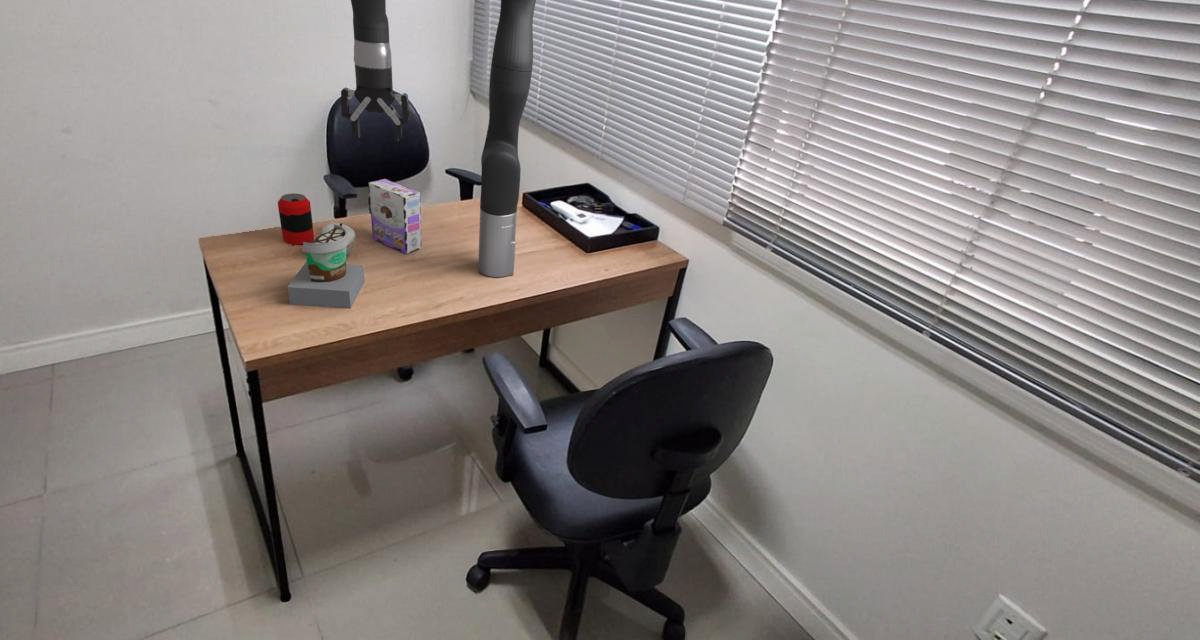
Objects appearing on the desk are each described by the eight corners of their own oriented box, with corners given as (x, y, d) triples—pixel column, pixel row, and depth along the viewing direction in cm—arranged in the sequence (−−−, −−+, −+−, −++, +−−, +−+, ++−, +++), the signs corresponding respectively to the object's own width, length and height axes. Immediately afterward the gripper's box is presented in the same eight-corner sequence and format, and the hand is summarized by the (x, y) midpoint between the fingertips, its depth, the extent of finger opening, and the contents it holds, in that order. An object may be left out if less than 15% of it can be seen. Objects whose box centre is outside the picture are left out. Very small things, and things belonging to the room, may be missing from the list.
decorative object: (320, 250, 160) (316, 215, 155) (355, 248, 164) (353, 213, 159) (321, 266, 154) (317, 229, 149) (359, 263, 157) (356, 227, 152)
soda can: (287, 247, 160) (280, 204, 153) (280, 236, 164) (273, 193, 158) (317, 243, 164) (312, 201, 158) (310, 232, 169) (305, 190, 163)
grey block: (364, 283, 150) (363, 265, 148) (350, 310, 139) (349, 291, 137) (309, 279, 148) (306, 260, 146) (290, 306, 137) (287, 287, 135)
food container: (331, 290, 136) (327, 249, 131) (306, 283, 137) (301, 242, 132) (362, 267, 147) (359, 228, 141) (339, 261, 147) (335, 223, 142)
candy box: (422, 248, 169) (421, 191, 161) (406, 255, 165) (404, 196, 156) (388, 233, 175) (385, 177, 166) (371, 238, 170) (367, 181, 162)
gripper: (409, 64, 136) (411, 137, 144) (341, 56, 133) (347, 131, 142) (405, 70, 130) (408, 146, 138) (334, 62, 127) (341, 140, 135)
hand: (377, 138), depth 140 cm, fingers open, 8 cm apart
